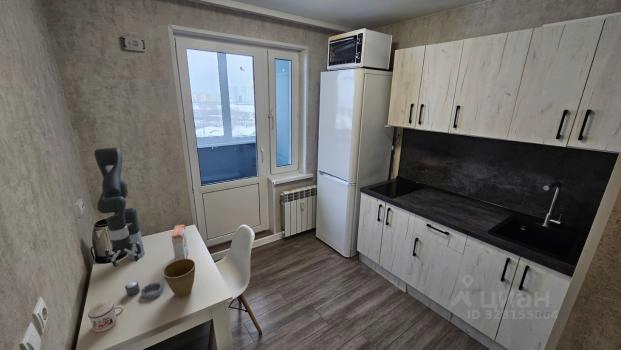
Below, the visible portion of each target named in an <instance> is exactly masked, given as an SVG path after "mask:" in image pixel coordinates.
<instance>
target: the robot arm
mask: <svg viewBox="0 0 621 350" xmlns="http://www.w3.org/2000/svg"><path fill="white" fill-rule="evenodd" d="M94 157H95V158H94V159H95V161H96V164H97V167H98V169H99V171H100V173H101V176H102V178H103V179H102V184H101V185H102V186H101V187H102V189H101V191H102V192H101V195H100V196H99V199H98V202H97V210H98V212H99V213H101V214H103V215H104V214H110V213H113V215H110V216H109V217H107V218H106V225H107V229H108V235H109V239H110V243H111V248H108V247H106V248H105V250H104V255H105V256H104V257H105V262H111V264H112V266H113V267H115V268H118V263H117V259H116V258H117V257H118V256H122V255H126V256H127V259H128V260H131V261H132V260H133V261H135V263H137V262H138V261H139V259H141V258H142V257H143V256H145V253H146V252H145V249H144V247H145V246H144V244H143V239H142V233H141V229H140V228H141V227H140V224H139V217H138V211H137V209H136V208H135V207H129V208H127V207H126V206H127V201H126V198H127V195H128V192H129V191H128V186H127V184H126V182H125V180H124V179H123V178H122V177H121V176H122V175H121V174H122V168H123V154H122V151H121V149H120V148H118V147H108V148H107V147H105V148H97V149H95V150H94ZM109 166H110V167H111V166H112V168H110V167H109ZM128 224H129V225H128ZM111 252H113V253H114V254H113V255H112V256H111V255H110V254H111Z"/></svg>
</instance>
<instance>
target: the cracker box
mask: <svg viewBox="0 0 621 350" xmlns="http://www.w3.org/2000/svg"><path fill="white" fill-rule="evenodd" d="M171 242H172V248H173V254H174V261H176V260H179V259H188V255H189V247H188V237H187V233H186V225H185V224H178V225H174V229H173V231H172V234H171Z"/></svg>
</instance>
